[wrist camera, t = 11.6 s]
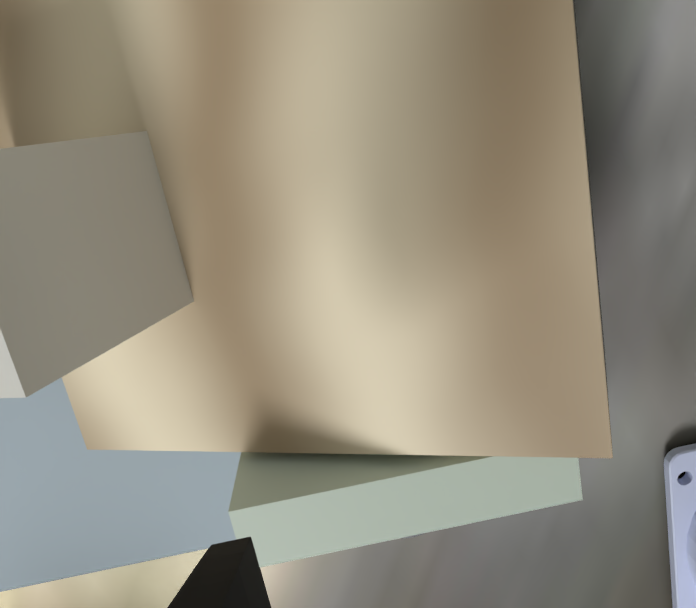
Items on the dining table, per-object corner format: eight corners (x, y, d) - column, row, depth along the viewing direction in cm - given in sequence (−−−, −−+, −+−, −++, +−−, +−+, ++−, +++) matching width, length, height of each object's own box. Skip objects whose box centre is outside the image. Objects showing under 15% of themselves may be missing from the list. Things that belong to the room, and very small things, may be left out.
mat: (270, 527, 21) (270, 535, 20) (-33, 591, 21) (-40, 600, 20) (62, -239, 15) (55, -249, 14) (-365, -152, 15) (-383, -160, 14)
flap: (561, -154, 13) (550, -250, 9) (606, 368, 16) (612, 457, 12) (65, 18, 18) (-72, 2, 14) (174, 384, 22) (86, 449, 18)
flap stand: (423, -184, 16) (490, -372, 10) (505, 408, 20) (584, 517, 14) (114, -121, 16) (-1, -273, 10) (267, 457, 20) (250, 588, 14)
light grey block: (194, 301, 15) (26, 397, 10) (69, 313, 16) (-124, 401, 12) (146, 130, 14) (-64, 156, 9) (17, 160, 15) (-216, 195, 11)
